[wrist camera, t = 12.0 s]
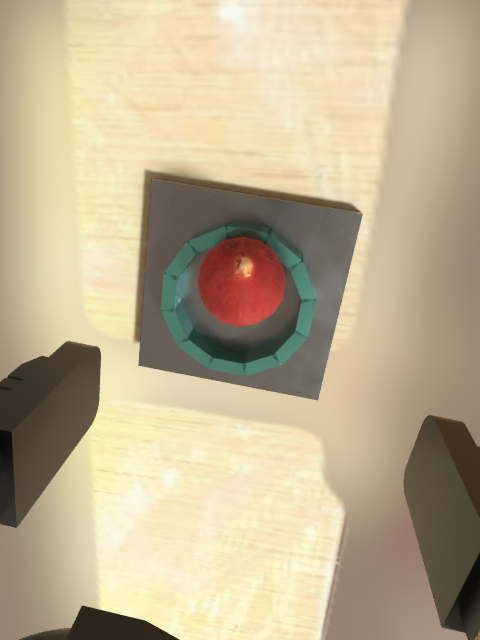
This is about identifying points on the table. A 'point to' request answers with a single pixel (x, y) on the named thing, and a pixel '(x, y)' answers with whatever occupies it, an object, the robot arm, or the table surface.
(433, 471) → the robot arm
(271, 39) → the table surface
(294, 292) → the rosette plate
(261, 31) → the table surface
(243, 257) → the onion
